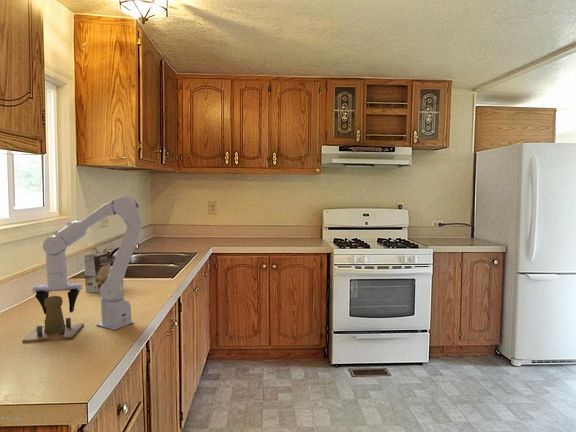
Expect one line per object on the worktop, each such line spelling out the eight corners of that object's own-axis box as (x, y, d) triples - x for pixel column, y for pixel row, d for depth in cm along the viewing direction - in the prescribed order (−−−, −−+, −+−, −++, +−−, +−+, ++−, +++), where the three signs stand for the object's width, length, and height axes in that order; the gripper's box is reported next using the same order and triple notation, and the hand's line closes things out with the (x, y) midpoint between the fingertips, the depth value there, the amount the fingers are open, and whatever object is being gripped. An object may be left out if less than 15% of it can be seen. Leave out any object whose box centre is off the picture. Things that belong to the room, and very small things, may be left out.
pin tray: (83, 325, 140) (83, 314, 139) (72, 339, 128) (71, 327, 128) (38, 328, 137) (37, 317, 137) (22, 342, 125) (21, 330, 125)
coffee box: (97, 293, 179) (95, 256, 178) (85, 292, 181) (83, 255, 180) (111, 287, 188) (110, 252, 187) (100, 286, 190) (98, 252, 188)
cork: (59, 325, 138) (57, 293, 137) (69, 329, 134) (67, 296, 133) (40, 331, 133) (38, 297, 132) (50, 335, 129) (48, 300, 128)
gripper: (84, 268, 141) (86, 307, 142) (37, 270, 138) (40, 310, 139) (77, 273, 134) (80, 313, 135) (28, 275, 131) (31, 316, 132)
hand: (59, 312), depth 137 cm, fingers open, 7 cm apart
